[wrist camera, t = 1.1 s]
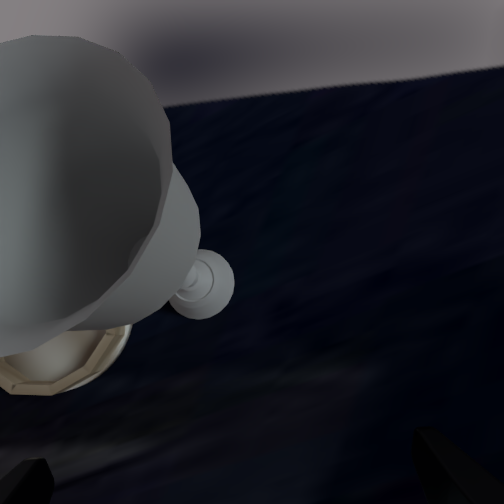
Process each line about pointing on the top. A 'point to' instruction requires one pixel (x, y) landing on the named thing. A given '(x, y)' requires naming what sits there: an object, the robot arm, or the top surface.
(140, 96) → the chalice
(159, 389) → the top surface
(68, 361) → the rimmed bowl
